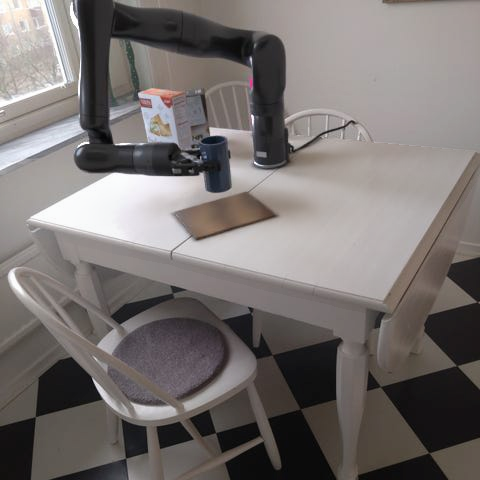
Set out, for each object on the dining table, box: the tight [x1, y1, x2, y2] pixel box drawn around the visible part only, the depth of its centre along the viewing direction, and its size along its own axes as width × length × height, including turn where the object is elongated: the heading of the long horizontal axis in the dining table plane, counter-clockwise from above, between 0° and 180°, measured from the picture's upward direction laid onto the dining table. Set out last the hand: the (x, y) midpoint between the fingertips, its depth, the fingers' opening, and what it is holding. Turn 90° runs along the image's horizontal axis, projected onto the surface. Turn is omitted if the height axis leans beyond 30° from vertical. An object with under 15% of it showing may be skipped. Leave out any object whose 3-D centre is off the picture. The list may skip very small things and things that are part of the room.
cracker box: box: [137, 87, 193, 150], centre depth 143 cm, size 14×6×21 cm, turn 49°
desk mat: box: [173, 191, 276, 241], centre depth 119 cm, size 20×16×1 cm
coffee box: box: [184, 87, 211, 145], centre depth 158 cm, size 9×6×16 cm
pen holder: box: [199, 134, 233, 194], centre depth 112 cm, size 6×6×11 cm
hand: (225, 160), depth 110 cm, fingers closed on pen holder, 6 cm apart
